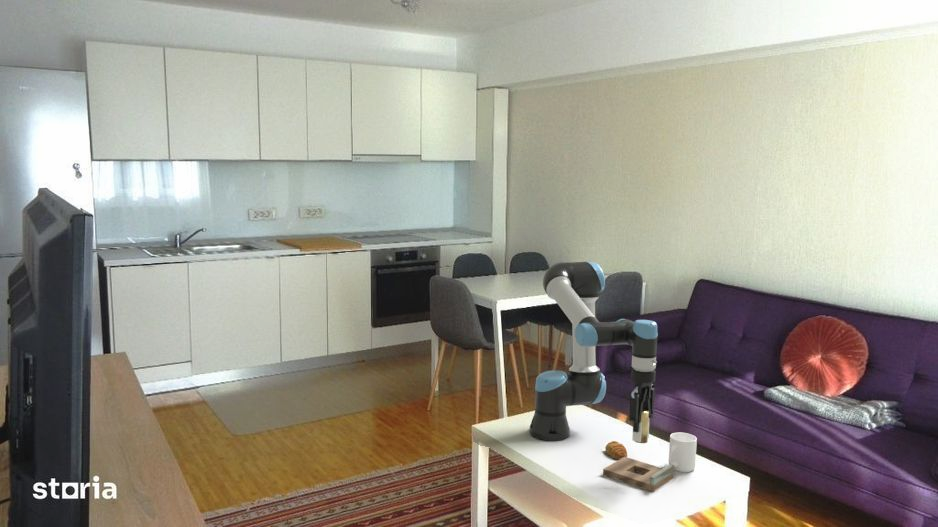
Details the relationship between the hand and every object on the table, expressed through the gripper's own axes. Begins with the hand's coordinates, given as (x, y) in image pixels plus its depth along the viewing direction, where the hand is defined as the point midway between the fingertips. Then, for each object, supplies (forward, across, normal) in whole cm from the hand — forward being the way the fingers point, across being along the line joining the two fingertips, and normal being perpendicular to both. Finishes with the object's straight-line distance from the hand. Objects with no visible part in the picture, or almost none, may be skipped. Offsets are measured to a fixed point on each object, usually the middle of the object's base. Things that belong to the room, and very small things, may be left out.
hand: (640, 438), depth 231 cm
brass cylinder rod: (+1, 0, 0) cm, 1 cm away
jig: (+13, 0, 0) cm, 13 cm away
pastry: (+13, +12, +15) cm, 23 cm away
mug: (+13, +15, -7) cm, 21 cm away
